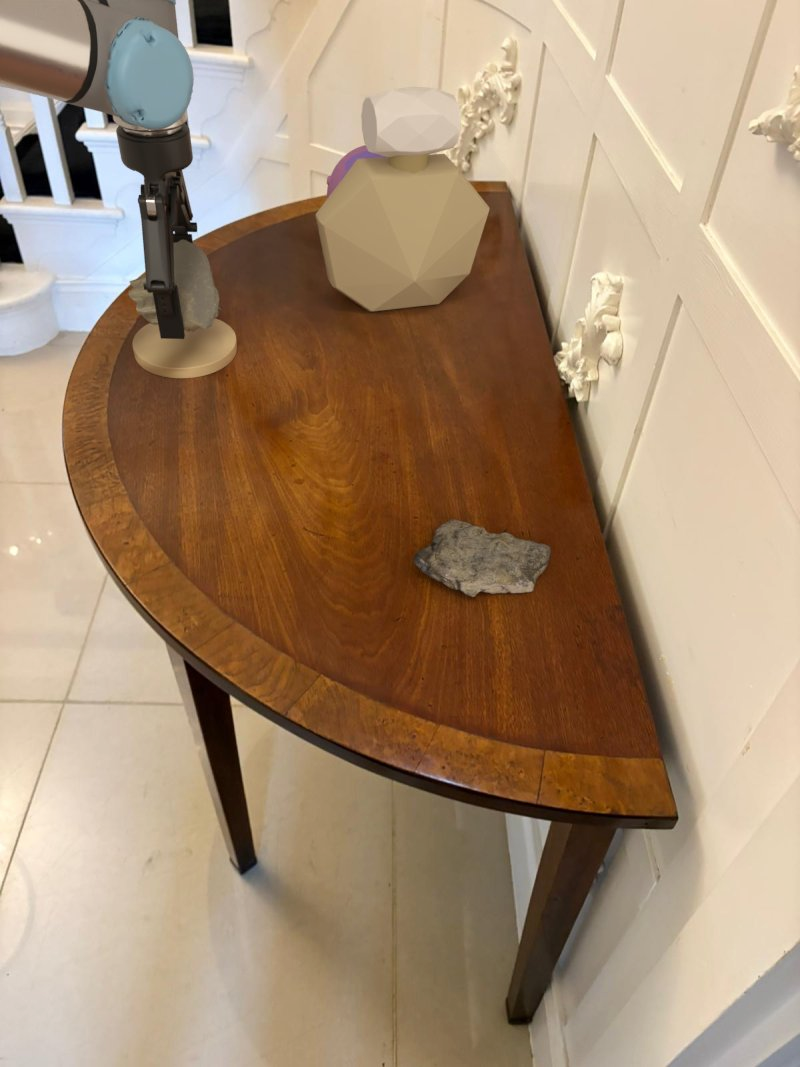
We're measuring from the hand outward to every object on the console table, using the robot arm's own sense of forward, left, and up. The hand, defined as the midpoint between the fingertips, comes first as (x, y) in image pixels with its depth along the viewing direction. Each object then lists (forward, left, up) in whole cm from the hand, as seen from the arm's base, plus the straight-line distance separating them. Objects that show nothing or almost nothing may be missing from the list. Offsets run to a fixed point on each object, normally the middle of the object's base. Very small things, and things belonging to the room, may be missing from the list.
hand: (180, 309), depth 98 cm
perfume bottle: (+28, +15, -6) cm, 33 cm away
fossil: (0, -1, -2) cm, 2 cm away
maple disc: (0, 0, -6) cm, 6 cm away
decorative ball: (+25, +32, -6) cm, 41 cm away
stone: (+33, -38, -6) cm, 51 cm away
